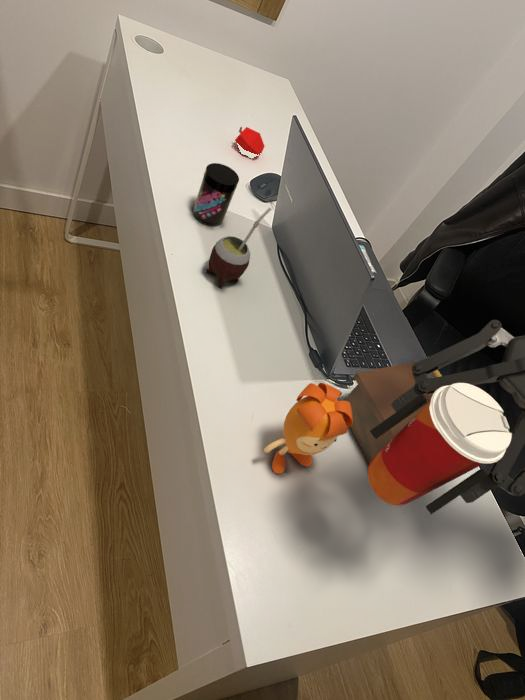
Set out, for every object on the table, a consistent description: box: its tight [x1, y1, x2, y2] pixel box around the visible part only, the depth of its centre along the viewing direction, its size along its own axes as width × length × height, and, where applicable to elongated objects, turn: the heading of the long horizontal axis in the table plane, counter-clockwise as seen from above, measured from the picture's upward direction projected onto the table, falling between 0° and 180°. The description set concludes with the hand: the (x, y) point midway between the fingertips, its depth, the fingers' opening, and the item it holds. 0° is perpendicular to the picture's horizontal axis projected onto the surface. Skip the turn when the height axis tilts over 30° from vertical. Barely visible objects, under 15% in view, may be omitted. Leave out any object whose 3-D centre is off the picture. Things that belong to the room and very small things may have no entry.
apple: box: [234, 126, 266, 155], centre depth 123 cm, size 7×7×8 cm
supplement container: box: [192, 162, 240, 226], centre depth 100 cm, size 7×7×10 cm
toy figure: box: [263, 382, 353, 475], centre depth 70 cm, size 12×8×15 cm, turn 112°
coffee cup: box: [367, 383, 512, 507], centre depth 51 cm, size 8×8×15 cm
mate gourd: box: [205, 207, 272, 289], centre depth 89 cm, size 8×8×15 cm
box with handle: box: [342, 361, 443, 464], centre depth 81 cm, size 14×14×12 cm
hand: (399, 471), depth 50 cm, fingers closed on coffee cup, 8 cm apart
